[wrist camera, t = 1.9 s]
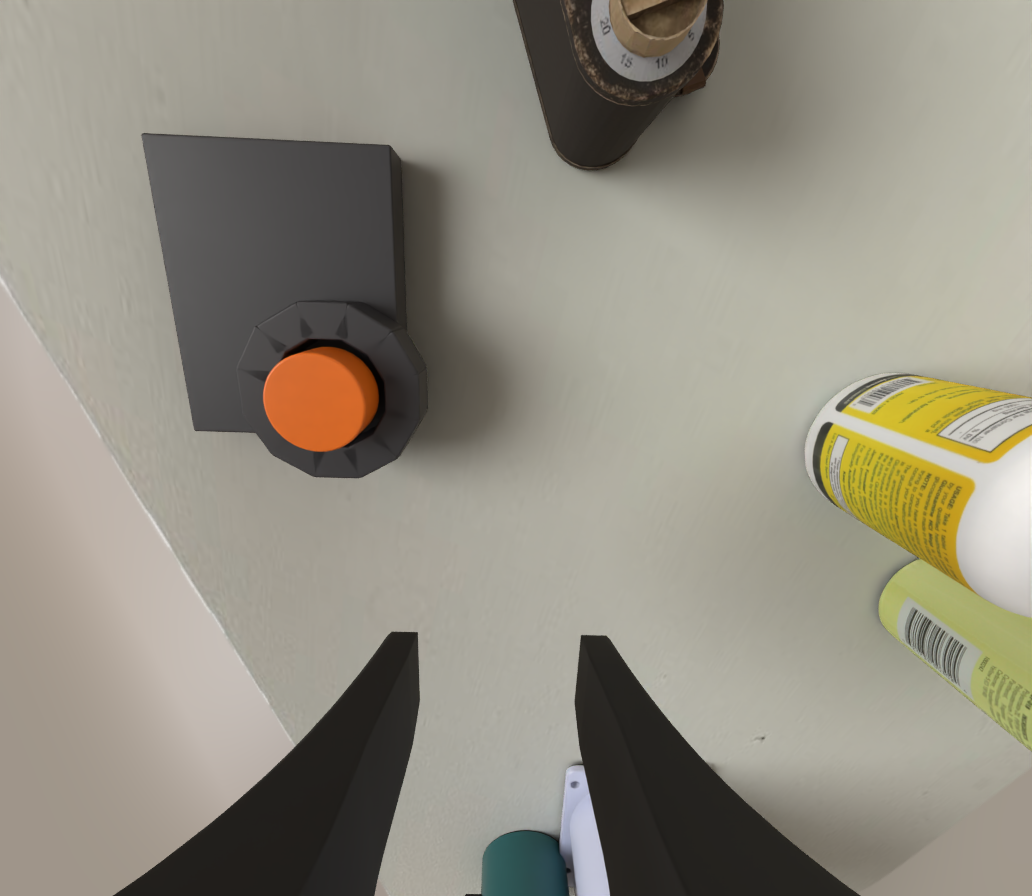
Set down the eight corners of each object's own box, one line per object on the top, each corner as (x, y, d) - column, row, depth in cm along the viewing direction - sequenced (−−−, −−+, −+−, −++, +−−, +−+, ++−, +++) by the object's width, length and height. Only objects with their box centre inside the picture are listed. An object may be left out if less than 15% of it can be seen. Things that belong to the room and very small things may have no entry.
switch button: (381, 438, 17) (368, 454, 15) (291, 435, 17) (268, 451, 15) (376, 347, 16) (362, 354, 14) (281, 344, 16) (255, 350, 14)
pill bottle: (877, 525, 22) (1211, 736, 12) (770, 470, 21) (1029, 644, 11) (971, 409, 21) (1461, 533, 10) (861, 343, 20) (1274, 402, 9)
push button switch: (435, 450, 21) (421, 480, 17) (222, 444, 20) (167, 473, 17) (430, 159, 17) (412, 128, 14) (174, 147, 17) (93, 112, 14)
